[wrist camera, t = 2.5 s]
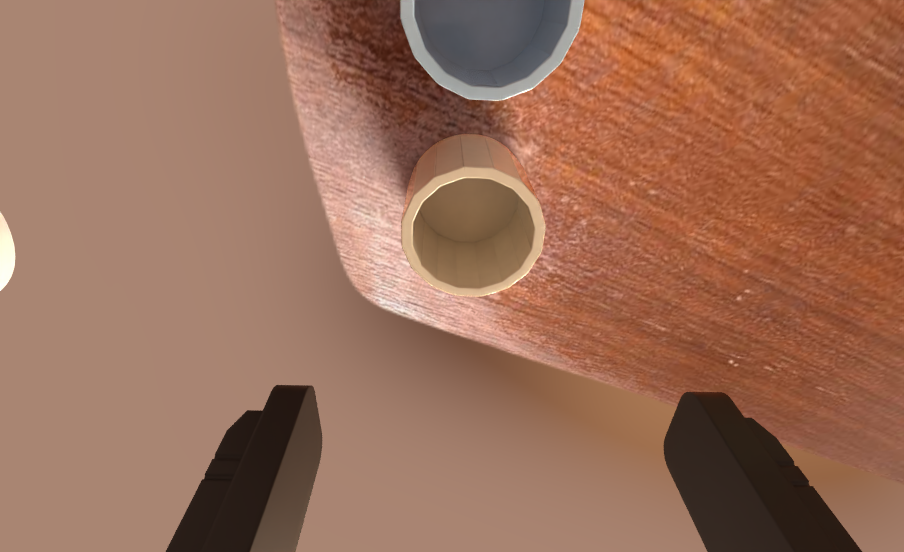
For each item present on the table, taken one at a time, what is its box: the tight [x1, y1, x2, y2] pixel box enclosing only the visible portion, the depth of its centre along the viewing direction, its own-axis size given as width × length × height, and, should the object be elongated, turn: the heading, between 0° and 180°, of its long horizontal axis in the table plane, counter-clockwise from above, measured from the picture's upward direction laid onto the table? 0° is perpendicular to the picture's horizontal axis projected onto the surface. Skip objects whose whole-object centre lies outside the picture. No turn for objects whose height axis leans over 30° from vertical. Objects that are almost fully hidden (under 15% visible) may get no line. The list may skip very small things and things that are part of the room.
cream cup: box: [401, 134, 546, 296], centre depth 23 cm, size 6×6×6 cm
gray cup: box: [400, 0, 584, 101], centre depth 18 cm, size 6×6×6 cm
